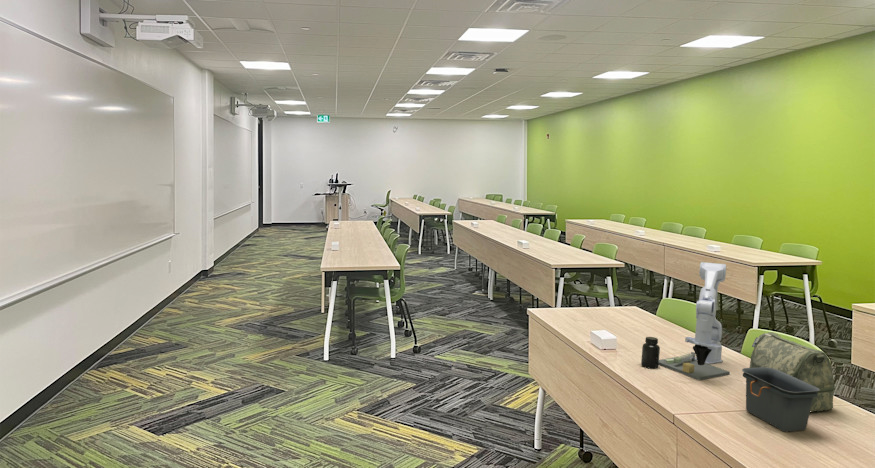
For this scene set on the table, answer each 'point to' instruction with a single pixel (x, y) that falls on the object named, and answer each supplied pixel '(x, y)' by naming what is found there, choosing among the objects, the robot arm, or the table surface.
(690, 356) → the bar
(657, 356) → the supplement bottle
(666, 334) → the table surface
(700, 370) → the base
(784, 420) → the storage bin
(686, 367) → the yellow wooden cube
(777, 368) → the lunch bag
